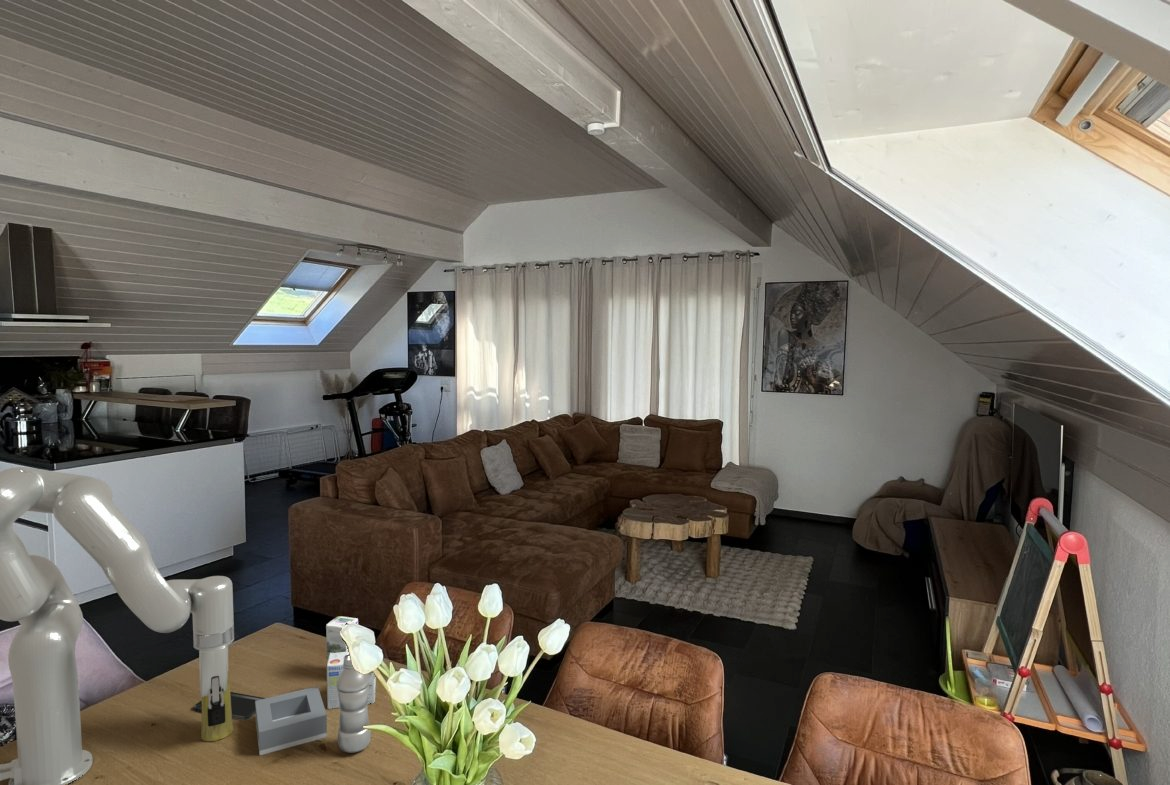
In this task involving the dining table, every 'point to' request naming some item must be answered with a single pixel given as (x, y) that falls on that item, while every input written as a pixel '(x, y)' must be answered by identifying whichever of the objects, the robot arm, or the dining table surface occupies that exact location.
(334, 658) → the light bulb box
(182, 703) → the dining table surface
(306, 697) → the socket block
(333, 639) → the syrup box
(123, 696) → the dining table surface
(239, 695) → the phone
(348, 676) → the plastic bottle
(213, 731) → the vase
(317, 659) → the dining table surface
